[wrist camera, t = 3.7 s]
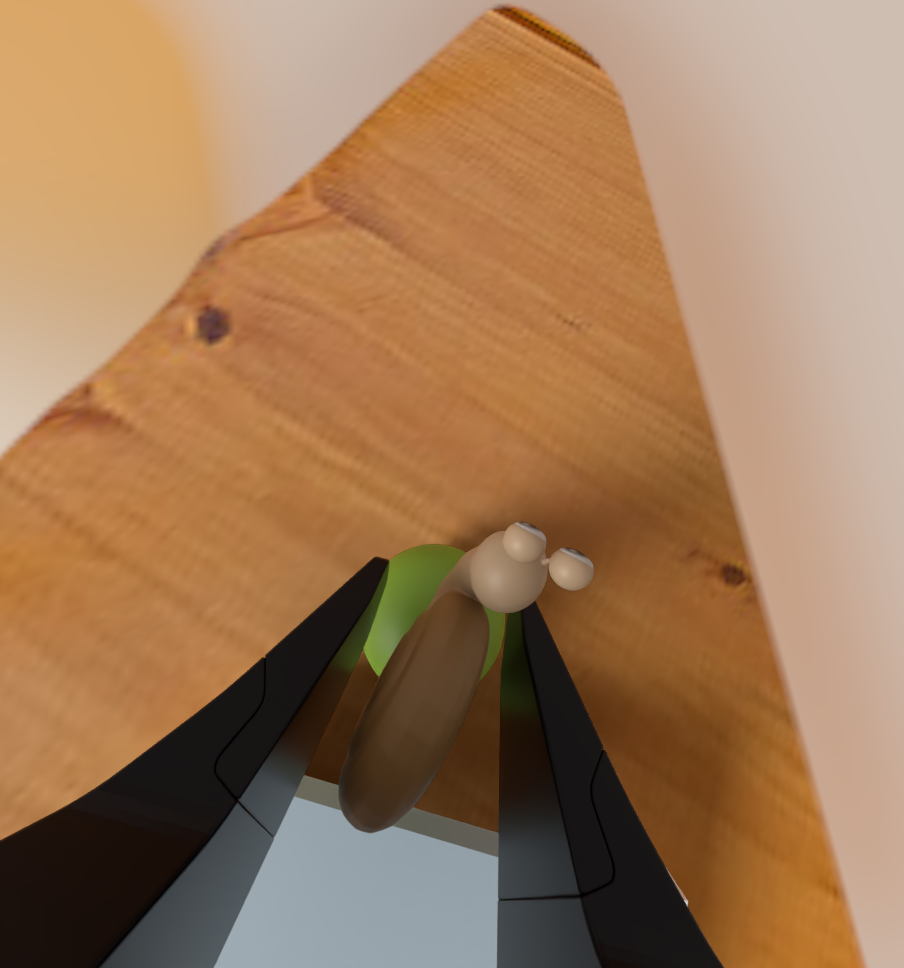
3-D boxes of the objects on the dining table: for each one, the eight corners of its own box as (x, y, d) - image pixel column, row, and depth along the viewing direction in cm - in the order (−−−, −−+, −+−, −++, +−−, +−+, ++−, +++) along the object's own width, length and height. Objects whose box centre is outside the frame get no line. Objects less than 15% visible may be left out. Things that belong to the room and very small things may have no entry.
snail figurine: (523, 559, 16) (774, 654, 4) (457, 686, 15) (509, 1314, 3) (425, 502, 16) (370, 424, 4) (353, 624, 15) (23, 973, 3)
